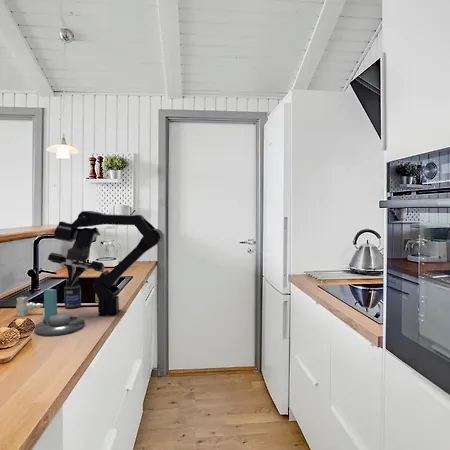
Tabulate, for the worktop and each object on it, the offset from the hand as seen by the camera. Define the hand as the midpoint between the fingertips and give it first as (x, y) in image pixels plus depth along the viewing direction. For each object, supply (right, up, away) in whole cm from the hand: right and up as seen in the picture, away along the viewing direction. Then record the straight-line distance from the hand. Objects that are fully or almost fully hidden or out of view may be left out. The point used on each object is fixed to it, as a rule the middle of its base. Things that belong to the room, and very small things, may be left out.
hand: (70, 286), depth 128 cm
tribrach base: (+1, -12, -9) cm, 15 cm away
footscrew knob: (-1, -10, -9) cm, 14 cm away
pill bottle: (-6, -11, +17) cm, 21 cm away
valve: (-16, -12, +7) cm, 21 cm away
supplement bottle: (+3, -11, +25) cm, 27 cm away
